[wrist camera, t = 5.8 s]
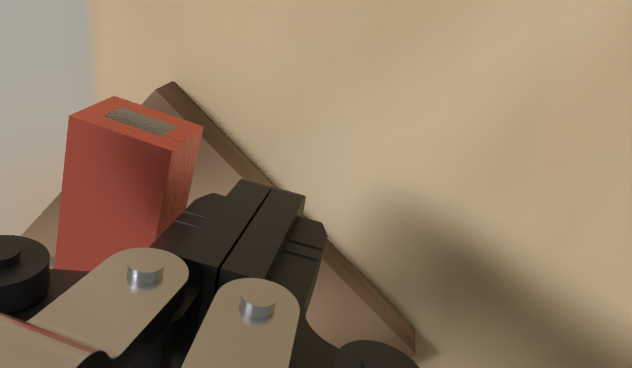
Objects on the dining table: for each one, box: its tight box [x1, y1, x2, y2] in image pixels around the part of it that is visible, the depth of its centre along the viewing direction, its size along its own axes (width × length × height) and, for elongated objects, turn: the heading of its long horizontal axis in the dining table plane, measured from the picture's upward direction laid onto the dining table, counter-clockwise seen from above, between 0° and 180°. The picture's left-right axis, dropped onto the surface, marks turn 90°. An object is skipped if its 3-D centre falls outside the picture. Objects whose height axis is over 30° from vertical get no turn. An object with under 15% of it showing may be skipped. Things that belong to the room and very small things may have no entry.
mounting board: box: [21, 81, 415, 357], centre depth 23 cm, size 14×14×2 cm
